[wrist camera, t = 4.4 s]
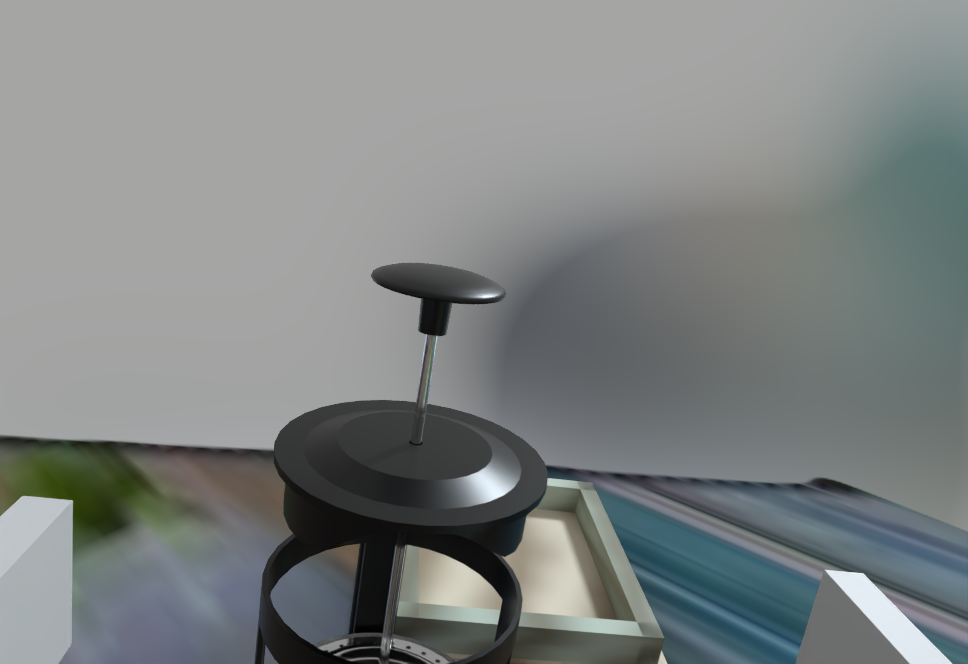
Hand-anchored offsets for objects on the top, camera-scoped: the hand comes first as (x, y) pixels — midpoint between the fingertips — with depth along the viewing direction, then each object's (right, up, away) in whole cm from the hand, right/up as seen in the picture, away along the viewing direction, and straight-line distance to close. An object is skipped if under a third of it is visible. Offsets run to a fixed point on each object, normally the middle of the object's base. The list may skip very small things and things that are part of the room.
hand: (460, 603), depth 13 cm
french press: (-5, -15, +16) cm, 23 cm away
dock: (+2, -11, +34) cm, 36 cm away
